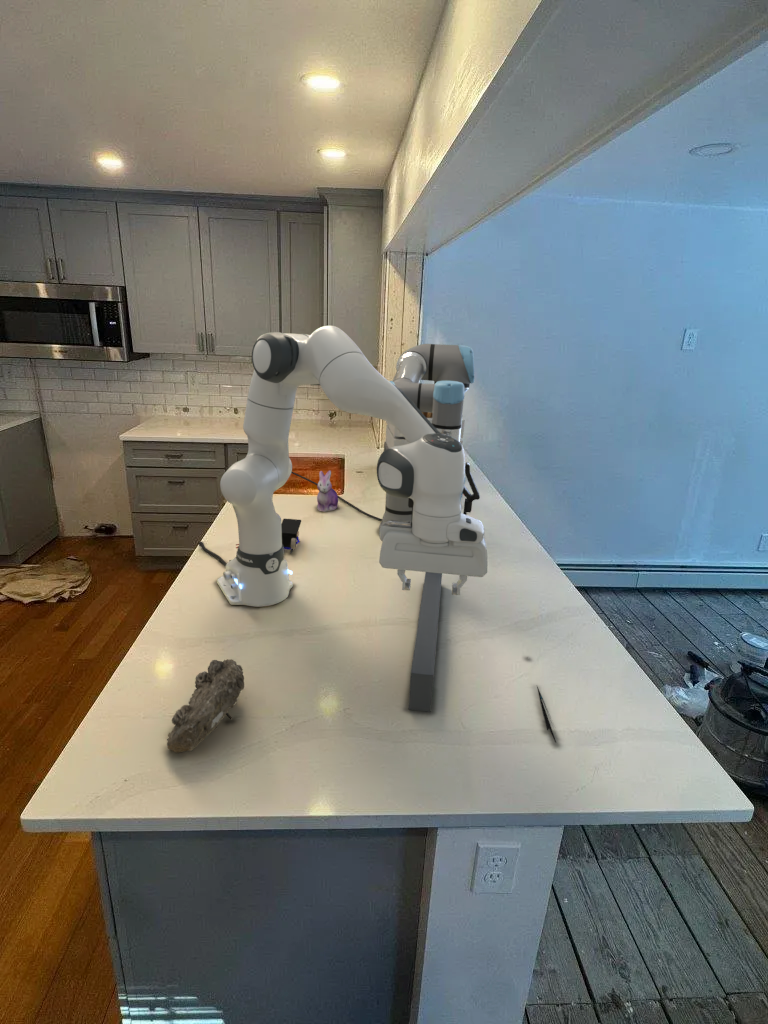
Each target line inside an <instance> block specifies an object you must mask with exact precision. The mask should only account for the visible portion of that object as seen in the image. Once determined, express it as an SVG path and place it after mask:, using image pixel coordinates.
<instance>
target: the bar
mask: <svg viewBox="0 0 768 1024" xmlns="http://www.w3.org/2000/svg"><path fill="white" fill-rule="evenodd" d="M442 580H443V574H442V573H431V572H424V579H423V587H422V594H421V600H420V607H419V614H418V621H417V626H416V627H417V628H416V634H415V640H414V641H415V642H414V647H413V655H412V661H411V668H410V669H411V670H410V680H409V681H410V682H409V693H408V709H407V710H411V711H419V712H426V713H427V712H428V713H431V712H432V701H433V688H434V677H435V665H436V654H437V653H436V652H437V643H438V642H437V641H438V629H439V616H440V603H441V592H442V582H443V581H442Z"/></svg>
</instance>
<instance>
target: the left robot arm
mask: <svg viewBox="0 0 768 1024" xmlns="http://www.w3.org/2000/svg"><path fill="white" fill-rule="evenodd" d="M251 362H252V367H253V373H252V376H251V378H250V379H251V380H250V383H249V388H248V393H247V399H246V405H245V411H244V419H243V424H242V428H243V432H244V434H245V436H246V437H247V445H248V451H247V454H246V456H245V458H244V457H243V458H242V459H241V460H238V461H236V462H234V463H233V464H231V466H230V467H228V469H227V470H226V471H225V472H224V473H223V475H221V478H220V482H219V487H220V492H221V494H222V496H223V498H224V499H225V500H226V501H227V502H228V503H230V505H231V506H232V508H233V510H234V513H235V516H236V520H237V533H238V543H236V544H235V546H236V547H235V549H236V554H235V555H236V556H234V557H233V558H232V559H229V560H228V562H226V561H225V560H224V559H223V558H222V557H221V556H219V555H218V554H217V553H215V552H213V551H211V550H209V549H208V548H206V546H205V544H204V542H203V541H198V543H197V544H198V546H200V547H201V549H202V550H203V551H204V552H205V553H207V554H208V555H210V556H213V557H214V558H216V559H217V560H218V561H220V563H221V564H222V565H223V566H224V569H225V570H224V571H223V573H222V574H223V575H221V576H219V577H218V578H217V581H216V583H217V585H218V587H219V588H220V590H221V592H222V593H223V595H224V596H225V598H226V600H227V601H228V603H229V605H232V606H248V607H268V606H269V607H270V606H273V605H276V604H279V603H282V602H283V601H284V600H286V599H287V598H288V597H289V596H290V595H289V594H290V590H291V589H292V588H293V587H294V583H293V581H291V580H290V576H289V574H290V575H293V571H292V570H290V569H289V566H288V560H287V559H285V549H284V547H283V544H282V517H281V515H280V514H278V513H277V511H276V509H275V505H274V500H273V498H274V493H275V492H276V491H277V490H279V489H281V488H282V487H283V486H285V484H286V483H287V482H288V480H289V479H290V477H291V475H292V473H291V472H293V463H292V460H291V458H290V452H289V451H290V450H289V437H290V429H291V424H292V418H293V412H294V409H295V402H296V394H297V391H298V388H299V387H300V386H320V388H321V389H322V391H323V393H324V395H325V396H326V397H327V399H328V400H329V402H331V403H332V404H333V405H334V406H335V407H336V408H337V409H338V410H340V411H342V412H345V413H348V414H351V415H352V414H353V415H359V416H365V417H371V418H376V419H378V420H381V421H385V422H386V421H387V422H389V423H390V424H392V425H393V426H395V427H396V428H397V429H398V431H399V432H400V433H401V434H402V435H403V436H404V438H405V439H406V440H407V441H408V442H409V443H410V444H406V445H400V446H395V447H391V448H389V449H386V450H384V449H383V451H382V452H381V454H380V455H379V458H378V459H377V462H376V478H377V481H378V484H379V486H380V488H381V489H382V490H383V492H385V494H386V493H388V494H389V495H391V496H395V497H400V498H411V499H412V500H413V502H414V505H413V516H412V522H409V521H395V520H388V522H385V523H383V524H382V525H381V526H380V529H379V528H378V536H379V539H380V541H381V546H380V551H379V559H378V563H379V565H380V566H381V568H383V569H390V570H397V572H396V574H397V576H398V578H399V579H400V581H401V583H402V584H401V585H402V587H401V590H402V591H411V585H412V584H411V583H412V579H411V578H407V576H406V571H413V572H422V573H425V572H431V573H442V575H454V576H459V580H458V581H457V582H452V585H451V595H452V596H460V593H461V589H462V587H463V586H464V584H466V582H467V581H468V577H474V578H475V577H477V578H483V577H484V576H485V575H487V573H488V565H489V564H488V562H489V561H488V548H487V542H486V538H485V537H484V536H485V526H484V524H483V522H482V521H481V520H480V519H478V518H474V517H472V516H470V515H465V514H463V513H464V512H462V509H463V508H462V503H461V502H462V501H461V502H460V498H461V494H462V492H463V489H464V485H465V484H464V479H465V480H466V474H465V463H466V456H465V449H464V446H463V443H462V444H461V443H460V442H459V441H458V440H457V439H455V438H453V437H451V436H448V435H443V434H441V433H440V432H439V431H438V430H437V429H436V428H435V427H434V426H433V425H432V424H431V422H430V421H429V420H428V419H427V418H426V417H425V416H424V414H423V413H422V412H421V411H420V410H419V409H418V408H417V406H416V405H415V404H414V403H413V402H412V401H411V400H410V399H409V398H408V397H407V395H406V394H405V393H404V392H403V391H401V390H400V389H399V388H398V387H396V386H395V385H394V384H392V383H391V382H389V381H390V380H388V379H387V378H386V377H385V376H384V375H383V374H381V373H380V371H378V370H377V369H376V368H375V367H374V366H373V365H372V363H371V362H370V361H369V360H368V358H367V357H366V356H365V354H364V352H363V351H362V350H361V348H360V347H359V346H358V345H357V344H356V342H355V341H354V340H353V339H352V338H351V337H350V336H349V335H348V333H346V332H345V331H343V330H342V329H341V328H340V327H338V326H335V325H323V326H320V327H318V328H316V329H315V330H314V331H313V332H311V334H307V333H289V332H288V333H287V332H286V333H283V332H280V331H272V332H267V333H263V334H261V335H259V336H258V338H257V339H256V341H255V342H254V344H253V347H252V351H251ZM462 495H463V494H462ZM386 524H388V525H386ZM411 527H412V528H411Z"/></svg>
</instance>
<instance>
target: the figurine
mask: <svg viewBox="0 0 768 1024" xmlns="http://www.w3.org/2000/svg"><path fill="white" fill-rule="evenodd" d="M318 473H319V475H318V476H319V481H318V482H317V484H318V485H316V486H317V490H318V493H317V495H316V502H317V506H316V508H317V511H319V512H331V511H335V510H336V509H338V506H339V498H338V496H339V494H338V493H337V491H336V490H335V489H334V488H332V487H333V485H332V482H331V480H330V479H331V476H332V470H330V469H329V470H328V471H327V472H326V474H325V473H324V472H323V471H322V470H320V471H319V472H318Z"/></svg>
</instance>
